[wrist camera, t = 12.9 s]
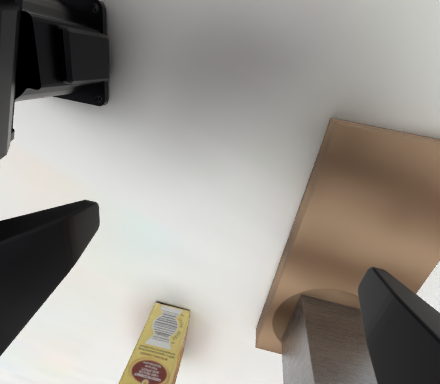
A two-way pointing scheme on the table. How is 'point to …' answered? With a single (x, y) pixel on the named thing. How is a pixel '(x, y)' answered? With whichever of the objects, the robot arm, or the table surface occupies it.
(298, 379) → the metal cube with knob
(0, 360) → the table surface
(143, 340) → the candy box
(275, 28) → the table surface
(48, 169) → the table surface
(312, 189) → the brown flat block
